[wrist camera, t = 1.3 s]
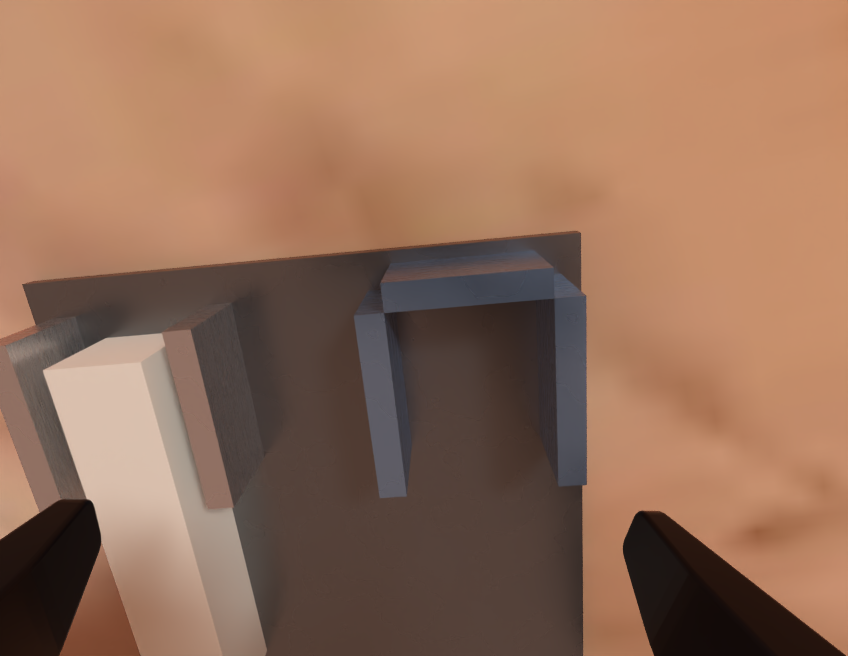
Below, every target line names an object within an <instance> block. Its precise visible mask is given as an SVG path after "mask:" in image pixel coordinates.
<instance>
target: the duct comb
mask: <svg viewBox="0 0 848 656" xmlns="http://www.w3.org/2000/svg"><path fill="white" fill-rule="evenodd" d="M22 285H23V288H24V291H25V294H26V297H27V300H28V303H29V306H30V309H31V312H32V315H33V318H34V321H35V324H36V325H35V326H32V327H30V328H27V329H25V330H22V331H20V332H17V333H14V334H12V335H9V336H7V337H4V338H2V339H0V409H1V411H2V414H3V416H4V419H5V422H6V424H7V427H8V430H9V432H10V435H11V438H12V440H13V443H14V446H15V448H16V451H17V453H18V456H19V459H20V461H21V464H22V467H23V469H24V472H25V475H26V477H27V480H28V483H29V485H30V488H31V490H32V493H33V496H34V498H35V501H36V504H37V506H38V509H39V512H41V511H43V510H44V509H46V508H47V507H49V506H50V505H52V504H53V503H55V502H56V501H58V500H61V499H65V498H74V499H87V498H86V495H85V492H84V489H83V487H82V484H81V481H80V478H79V475H78V472H77V469H76V466H75V463H74V460H73V457H72V454H71V452H70V449H69V446H68V443H67V440H66V437H65V434H64V431H63V428H62V425H61V422H60V419H59V417H58V414H57V411H56V408H55V405H54V402H53V399H52V396H51V393H50V390H49V387H48V384H47V382H46V379H45V376H44V373H43V370H44V369H46V368H48V367H50V366H52V365H54V364H56V363H58V362H60V361H62V360H64V359H66V358H68V357H70V356H72V355H74V354H76V353H78V352H80V351H82V350H84V349H86V348H88V347H90V346H91V345H93V344H95V343H97V342H99V341H101V340H103V339H105V338H113V337H124V336H136V335H148V334H159V333H162V336H163V340H164V343H165V347H166V351H167V355H168V359H169V363H170V366H171V370H172V374H173V378H174V382H175V385H176V389H177V393H178V397H179V401H180V404H181V408H182V412H183V416H184V420H185V424H186V427H187V431H188V435H189V439H190V443H191V446H192V450H193V454H194V458H195V462H196V466H197V469H198V473H199V477H200V481H201V485H202V488H203V492H204V496H205V500H206V504H207V507H208V509H220V508H232V509H233V514H234V518H235V522H236V526H237V530H238V534H239V538H240V542H241V546H242V550H243V554H244V558H245V562H246V567H247V571H248V575H249V579H250V583H251V587H252V591H253V595H254V599H255V603H256V607H257V611H258V615H259V620H260V624H261V628H262V632H263V636H264V640H265V644H266V648H267V652H266V655H265V656H583V554H582V485H587V414H586V295H585V294H584V293H582V292H581V233H580V232H578V231H570V232H560V233H549V234H538V235H527V236H516V237H506V238H495V239H484V240H473V241H463V242H452V243H441V244H430V245H419V246H409V247H398V248H387V249H376V250H366V251H355V252H344V253H333V254H323V255H312V256H301V257H290V258H279V259H269V260H258V261H247V262H236V263H226V264H215V265H204V266H193V267H182V268H172V269H161V270H150V271H139V272H129V273H118V274H107V275H96V276H85V277H75V278H64V279H53V280H42V281H33V282H29V283H26V284H22Z"/></svg>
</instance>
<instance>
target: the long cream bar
mask: <svg viewBox="0 0 848 656" xmlns="http://www.w3.org/2000/svg"><path fill="white" fill-rule="evenodd" d="M43 373H44V376H45V379H46V382H47V384H48V387H49V390H50V393H51V396H52V399H53V402H54V405H55V408H56V411H57V414H58V417H59V419H60V422H61V425H62V428H63V431H64V434H65V437H66V440H67V443H68V446H69V449H70V452H71V454H72V457H73V460H74V463H75V466H76V469H77V472H78V475H79V478H80V481H81V484H82V487H83V489H84V492H85V495H86V498H87V499H89V500H91V501H92V502H93V504H94V507H95V511H96V515H97V519H98V524H99V528H100V532H101V542H102V545H103V548H104V551H105V554H106V556H107V559H108V562H109V565H110V568H111V571H112V574H113V577H114V580H115V583H116V586H117V589H118V591H119V594H120V597H121V600H122V603H123V606H124V609H125V612H126V615H127V618H128V621H129V624H130V626H131V629H132V632H133V635H134V638H135V641H136V644H137V647H138V650H139V653H140V656H265V655H266V652H267V648H266V644H265V640H264V636H263V632H262V628H261V624H260V620H259V615H258V611H257V607H256V603H255V599H254V595H253V591H252V587H251V583H250V579H249V575H248V571H247V567H246V562H245V558H244V554H243V550H242V546H241V542H240V538H239V534H238V530H237V526H236V522H235V518H234V514H233V509H232V508H220V509H208V507H207V504H206V500H205V496H204V492H203V488H202V485H201V481H200V477H199V473H198V469H197V466H196V462H195V458H194V454H193V450H192V446H191V443H190V439H189V435H188V431H187V427H186V424H185V420H184V416H183V412H182V408H181V404H180V401H179V397H178V393H177V389H176V385H175V382H174V378H173V374H172V370H171V366H170V363H169V359H168V355H167V351H166V347H165V343H164V340H163V336H162V333H159V334H148V335H136V336H124V337H113V338H105V339H103V340H101V341H99V342H97V343H95V344H93V345H91V346H90V347H88V348H86V349H84V350H82V351H80V352H78V353H76V354H74V355H72V356H70V357H68V358H66V359H64V360H62V361H60V362H58V363H56V364H54V365H52V366H50V367H48V368H46V369H44V370H43Z"/></svg>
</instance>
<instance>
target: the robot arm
mask: <svg viewBox="0 0 848 656" xmlns="http://www.w3.org/2000/svg"><path fill="white" fill-rule="evenodd" d="M100 546H101V532H100V528H99V524H98V519H97V515H96V511H95V507H94V504H93V502H92V501H91V500H89V499H74V498H65V499H61V500H58V501H56V502H55V503H53V504H52V505H50V506H49V507H47V508H46V509H44V510H43V511H41V512H40V513H39V514H37V515H36V516H34V517H33V518H31V519H30V520H28V521H27V522H25V523H24V524H22V525H21V526H20V527H18V528H17V529H15V530H14V531H12V532H11V533H9V534H8V535H6V536H5V537H3V538H2V539H0V656H59V655H60V652H61V650H62V647H63V645H64V642H65V640H66V637H67V635H68V632H69V630H70V627H71V624H72V622H73V619H74V616H75V614H76V611H77V608H78V606H79V603H80V601H81V598H82V595H83V593H84V590H85V587H86V585H87V582H88V579H89V577H90V574H91V572H92V569H93V566H94V564H95V561H96V558H97V556H98V553H99V550H100ZM623 554H624V559H625V562H626V565H627V569H628V572H629V576H630V579H631V583H632V586H633V589H634V593H635V596H636V600H637V603H638V606H639V610H640V613H641V617H642V620H643V624H644V627H645V630H646V633H647V637H648V640H649V643H650V646H651V648H652V651H653V654H654V656H846V655H845V654H843V653H842V652H841V651H840V650H838V649H837V648H836V647H834V646H833V645H832V644H831V643H829V642H828V641H827V640H825V639H824V638H823V637H822V636H820V635H819V634H818V633H817V632H815V631H814V630H813V629H811V628H810V627H809V626H808V625H806V624H805V623H804V622H803V621H801V620H800V619H799V618H797V617H796V616H795V615H794V614H792V613H791V612H790V611H788V610H787V609H786V608H785V607H783V606H782V605H781V604H780V603H778V602H777V601H776V600H774V599H773V598H772V597H771V596H769V595H768V594H767V593H766V592H764V591H763V590H762V589H760V588H759V587H758V586H757V585H755V584H754V583H753V582H751V581H750V580H749V579H748V578H746V577H745V576H744V575H743V574H741V573H740V572H739V571H737V570H736V569H735V568H734V567H732V566H731V565H730V564H728V563H727V562H726V561H725V560H723V559H722V558H721V557H720V556H718V555H717V554H716V553H714V552H713V551H712V550H711V549H709V548H708V547H707V546H706V545H704V544H703V543H702V542H700V541H699V540H698V539H697V538H695V537H694V536H693V535H691V534H690V533H689V532H688V531H686V530H685V529H684V528H683V527H681V526H680V525H679V524H677V523H676V522H675V521H674V520H672V519H671V518H670V517H668V516H667V515H666V514H664V513H662V512H660V511H639V512H638V513H637V514H636V515H635V516H634V519H633V521H632V523H631V526H630V528H629V530H628V533H627V535H626V537H625V540H624V543H623Z"/></svg>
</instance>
